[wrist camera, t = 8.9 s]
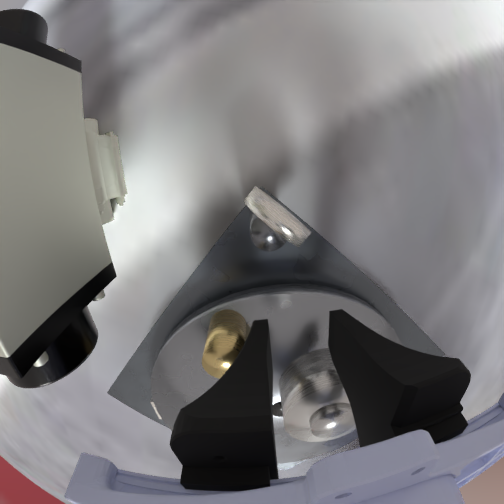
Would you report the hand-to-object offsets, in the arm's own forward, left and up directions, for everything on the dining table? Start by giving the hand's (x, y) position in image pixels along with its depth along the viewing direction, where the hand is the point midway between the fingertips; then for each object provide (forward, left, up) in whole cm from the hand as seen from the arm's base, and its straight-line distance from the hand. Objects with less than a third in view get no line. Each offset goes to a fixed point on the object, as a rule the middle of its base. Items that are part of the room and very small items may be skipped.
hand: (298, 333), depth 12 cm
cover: (-4, +2, -1) cm, 5 cm away
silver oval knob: (+4, -3, -3) cm, 6 cm away
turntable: (-4, +6, -3) cm, 8 cm away
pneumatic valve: (+13, +1, -4) cm, 14 cm away
